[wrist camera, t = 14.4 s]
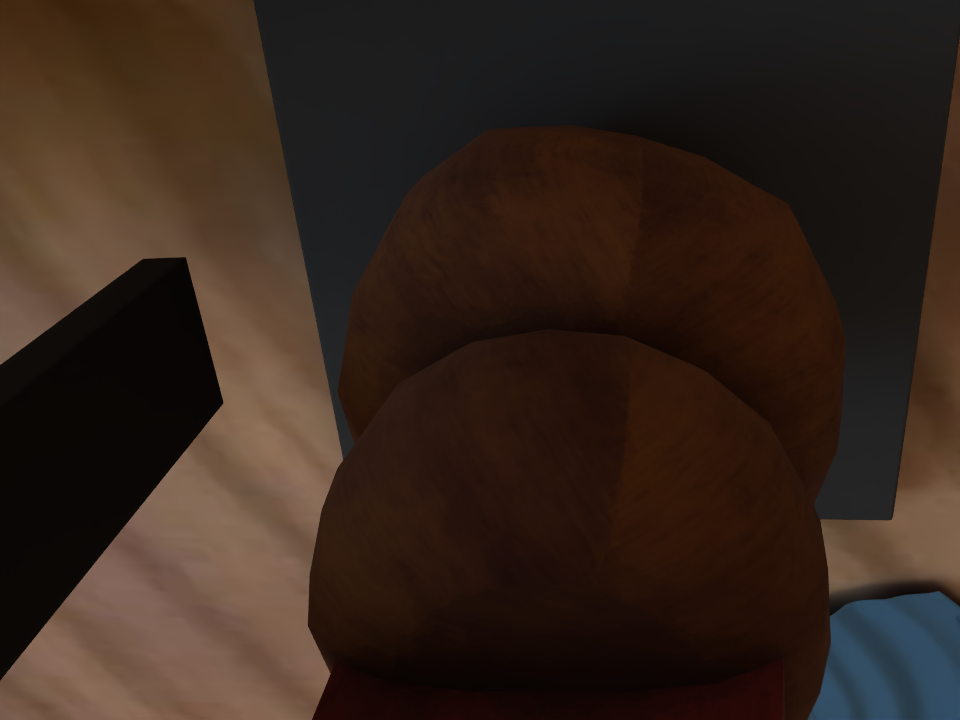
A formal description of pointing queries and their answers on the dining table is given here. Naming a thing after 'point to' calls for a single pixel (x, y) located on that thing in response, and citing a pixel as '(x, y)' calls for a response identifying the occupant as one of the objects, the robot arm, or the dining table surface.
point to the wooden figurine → (581, 445)
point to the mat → (651, 115)
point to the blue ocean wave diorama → (893, 661)
